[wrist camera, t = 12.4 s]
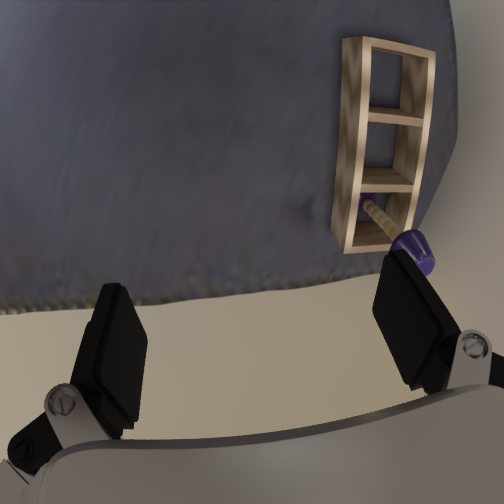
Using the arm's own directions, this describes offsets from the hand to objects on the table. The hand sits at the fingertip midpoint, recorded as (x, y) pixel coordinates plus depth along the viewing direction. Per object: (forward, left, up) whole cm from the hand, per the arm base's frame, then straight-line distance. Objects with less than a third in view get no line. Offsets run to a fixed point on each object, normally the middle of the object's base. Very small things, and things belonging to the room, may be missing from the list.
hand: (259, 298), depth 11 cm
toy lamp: (+10, +18, -30) cm, 36 cm away
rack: (+2, +18, -30) cm, 35 cm away
